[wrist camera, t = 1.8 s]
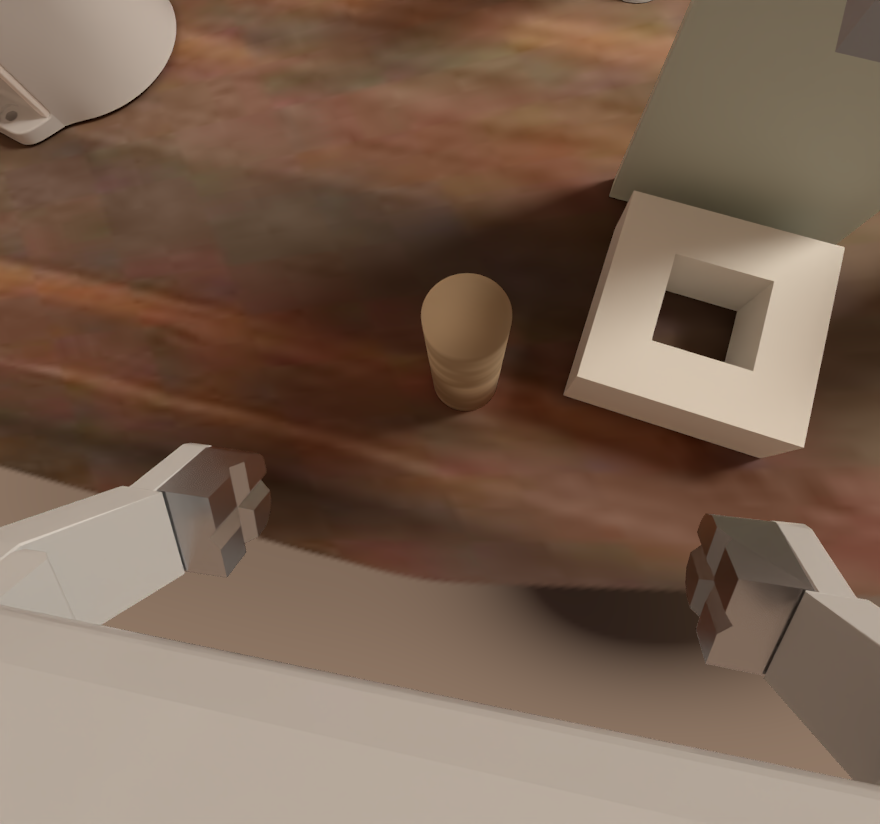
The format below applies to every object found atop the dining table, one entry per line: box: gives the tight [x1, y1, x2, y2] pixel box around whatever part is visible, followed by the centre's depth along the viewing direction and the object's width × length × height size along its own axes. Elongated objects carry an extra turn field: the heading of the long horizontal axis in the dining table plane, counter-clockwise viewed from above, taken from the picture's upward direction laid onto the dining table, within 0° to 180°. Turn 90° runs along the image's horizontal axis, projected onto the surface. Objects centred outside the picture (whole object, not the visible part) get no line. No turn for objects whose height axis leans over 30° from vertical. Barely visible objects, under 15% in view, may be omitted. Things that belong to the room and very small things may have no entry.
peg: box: [421, 273, 512, 411], centre depth 28 cm, size 4×4×10 cm
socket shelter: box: [563, 0, 880, 459], centre depth 22 cm, size 14×16×23 cm
